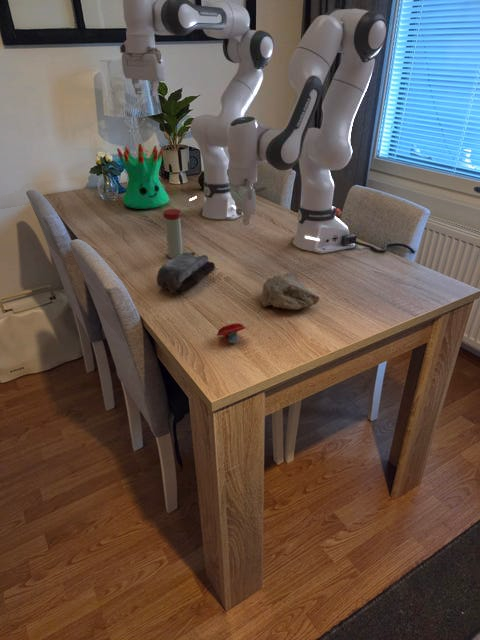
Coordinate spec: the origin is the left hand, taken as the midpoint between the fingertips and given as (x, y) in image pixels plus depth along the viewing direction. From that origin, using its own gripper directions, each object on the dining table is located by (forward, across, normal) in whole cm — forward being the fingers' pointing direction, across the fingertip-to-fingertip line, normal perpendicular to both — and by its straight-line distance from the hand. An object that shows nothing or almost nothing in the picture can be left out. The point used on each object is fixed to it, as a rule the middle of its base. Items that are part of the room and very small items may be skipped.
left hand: (146, 95), depth 149 cm
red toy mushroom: (+48, -76, +30) cm, 95 cm away
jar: (+48, -24, +9) cm, 54 cm away
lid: (+33, -24, +9) cm, 41 cm away
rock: (+48, -44, +20) cm, 68 cm away
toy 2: (+48, +31, -54) cm, 78 cm away
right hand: (+33, -43, -4) cm, 55 cm away
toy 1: (+48, +33, -15) cm, 60 cm away
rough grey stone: (+48, -71, +5) cm, 86 cm away
